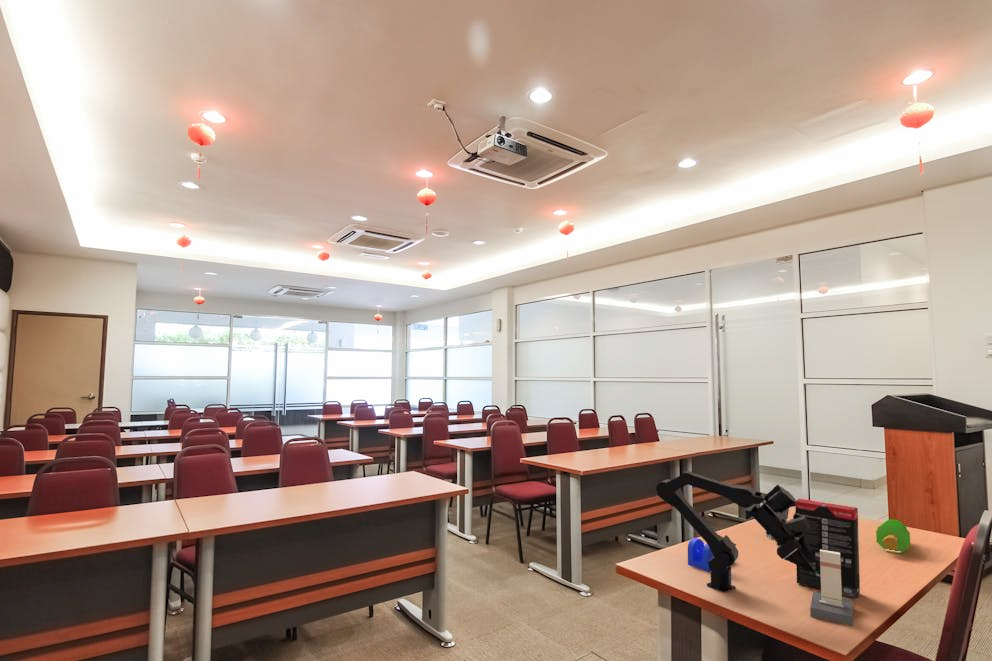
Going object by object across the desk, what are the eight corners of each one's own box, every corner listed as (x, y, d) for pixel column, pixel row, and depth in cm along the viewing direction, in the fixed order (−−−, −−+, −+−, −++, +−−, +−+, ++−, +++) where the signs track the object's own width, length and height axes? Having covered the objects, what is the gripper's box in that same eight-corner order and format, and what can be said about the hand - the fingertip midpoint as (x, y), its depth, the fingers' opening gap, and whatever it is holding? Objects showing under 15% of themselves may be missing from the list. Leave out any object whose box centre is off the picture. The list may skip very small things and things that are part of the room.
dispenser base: (810, 616, 151) (810, 604, 151) (813, 599, 162) (813, 588, 163) (852, 626, 145) (852, 613, 145) (852, 608, 157) (852, 596, 157)
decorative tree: (880, 522, 207) (886, 506, 230) (868, 548, 209) (875, 529, 232) (915, 539, 200) (917, 520, 223) (902, 565, 202) (906, 544, 225)
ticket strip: (821, 609, 154) (819, 551, 156) (821, 606, 156) (819, 549, 158) (842, 614, 152) (840, 554, 153) (842, 611, 153) (840, 552, 155)
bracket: (708, 572, 185) (707, 545, 185) (687, 564, 192) (687, 539, 192) (738, 562, 195) (737, 537, 195) (717, 556, 201) (717, 531, 202)
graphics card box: (861, 593, 168) (858, 505, 170) (858, 600, 163) (855, 509, 165) (801, 579, 179) (798, 496, 181) (796, 585, 174) (793, 500, 176)
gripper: (788, 512, 154) (834, 559, 147) (793, 500, 169) (836, 542, 162) (759, 535, 157) (803, 582, 150) (767, 521, 173) (807, 563, 166)
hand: (813, 566), depth 157 cm, fingers open, 9 cm apart
